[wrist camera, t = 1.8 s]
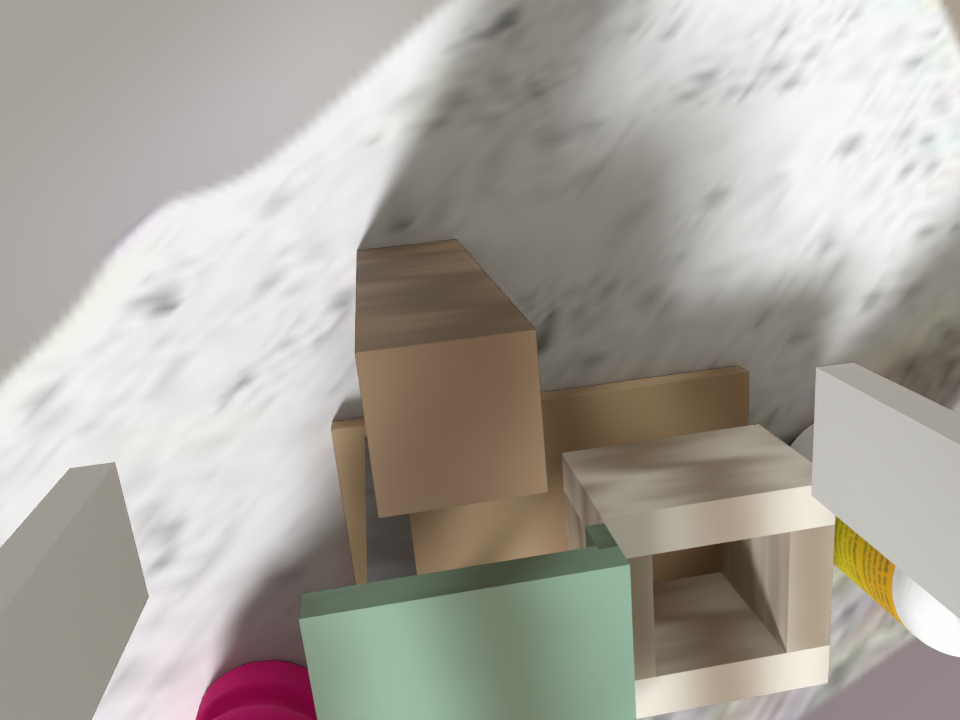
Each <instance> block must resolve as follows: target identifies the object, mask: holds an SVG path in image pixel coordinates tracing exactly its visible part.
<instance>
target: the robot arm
mask: <svg viewBox="0 0 960 720" xmlns="http://www.w3.org/2000/svg"><path fill="white" fill-rule="evenodd" d="M811 496H813V497H814V498H815V499H816V500H817V501H819V502H820V503H821V504H822V505H823V506H825V507H826V508H827V509H828V510H829V511H831V512H832V513H833V514H834V515H835V516H837V517H838V518H839V519H840V520H841V521H843V522H844V523H845V524H846V525H847V526H849V527H850V528H851V529H852V530H853V531H855V532H856V533H857V534H858V535H859V536H861V537H862V538H863V539H864V540H865V541H867V542H868V543H869V544H870V545H871V546H873V547H874V548H875V549H876V550H877V551H879V552H880V553H881V554H882V555H883V556H885V557H886V558H887V559H888V560H889V561H891V562H892V563H893V564H894V565H895V566H897V567H898V568H899V569H900V570H901V571H903V572H904V573H905V574H906V575H907V576H909V577H910V578H911V579H912V580H913V581H915V582H916V583H917V584H918V585H919V586H921V587H922V588H923V589H924V590H925V591H927V592H928V593H929V594H930V595H931V596H933V597H934V598H935V599H936V600H937V601H939V602H940V603H941V604H942V605H943V606H945V607H946V608H947V609H948V610H949V611H951V612H952V613H953V614H954V615H955V616H956V617H958V618H959V619H960V414H958V413H956V412H954V411H952V410H950V409H948V408H946V407H944V406H942V405H940V404H938V403H936V402H934V401H932V400H930V399H928V398H926V397H923V396H921V395H919V394H917V393H915V392H913V391H911V390H909V389H907V388H905V387H903V386H901V385H899V384H897V383H895V382H893V381H891V380H889V379H887V378H885V377H882V376H880V375H878V374H876V373H874V372H872V371H870V370H868V369H866V368H864V367H862V366H860V365H858V364H856V363H854V362H851V363H844V364H837V365H829V366H822V367H816V384H815V410H814V437H813V464H812V490H811ZM148 597H149V596H148V592H147V588H146V584H145V580H144V576H143V572H142V568H141V564H140V560H139V556H138V552H137V548H136V544H135V540H134V536H133V532H132V528H131V524H130V520H129V516H128V512H127V508H126V504H125V500H124V496H123V492H122V488H121V484H120V480H119V476H118V472H117V468H116V465H115V462H114V463H106V464H99V465H91V466H84V467H77V468H70V469H69V470H68V471H67V472H66V473H65V475H64V476H63V477H62V478H61V479H60V480H59V481H58V483H57V484H56V485H55V486H54V487H53V488H52V489H51V491H50V492H49V493H48V494H47V495H46V496H45V497H44V499H43V500H42V501H41V502H40V503H39V504H38V506H37V507H36V508H35V509H34V510H33V511H32V512H31V514H30V515H29V516H28V517H27V518H26V519H25V520H24V522H23V523H22V524H21V525H20V526H19V527H18V528H17V530H16V531H15V532H14V533H13V534H12V535H11V537H10V538H9V539H8V540H7V541H6V542H5V543H4V545H3V546H2V547H1V548H0V720H92V718H93V715H94V713H95V711H96V709H97V707H98V705H99V703H100V700H101V698H102V696H103V694H104V692H105V690H106V688H107V685H108V683H109V681H110V679H111V677H112V675H113V673H114V670H115V668H116V666H117V664H118V662H119V660H120V658H121V655H122V653H123V651H124V649H125V647H126V645H127V643H128V640H129V638H130V636H131V634H132V632H133V630H134V627H135V625H136V623H137V621H138V619H139V617H140V615H141V612H142V610H143V608H144V606H145V604H146V602H147V600H148Z"/></svg>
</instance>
